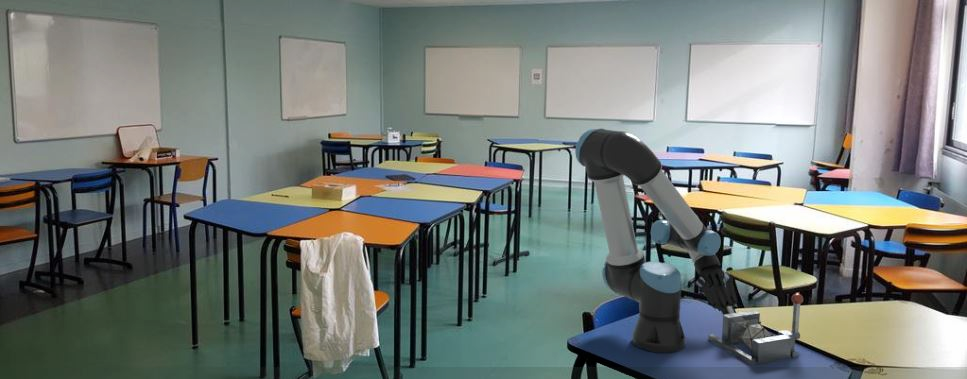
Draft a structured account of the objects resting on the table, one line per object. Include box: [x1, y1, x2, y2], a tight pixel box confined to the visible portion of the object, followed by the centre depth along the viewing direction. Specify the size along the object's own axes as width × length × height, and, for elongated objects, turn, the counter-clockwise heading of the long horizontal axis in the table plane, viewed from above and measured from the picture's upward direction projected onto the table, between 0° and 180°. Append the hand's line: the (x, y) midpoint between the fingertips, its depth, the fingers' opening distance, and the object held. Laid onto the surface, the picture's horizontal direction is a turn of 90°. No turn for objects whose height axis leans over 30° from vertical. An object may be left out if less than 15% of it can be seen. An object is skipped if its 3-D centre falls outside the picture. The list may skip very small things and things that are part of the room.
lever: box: [790, 293, 804, 341], centre depth 198 cm, size 3×3×14 cm
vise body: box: [707, 329, 798, 366], centre depth 200 cm, size 19×18×6 cm
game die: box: [738, 321, 775, 354], centre depth 198 cm, size 9×8×10 cm
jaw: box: [721, 310, 761, 346], centre depth 204 cm, size 3×11×8 cm, turn 108°
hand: (736, 327), depth 207 cm, fingers closed
